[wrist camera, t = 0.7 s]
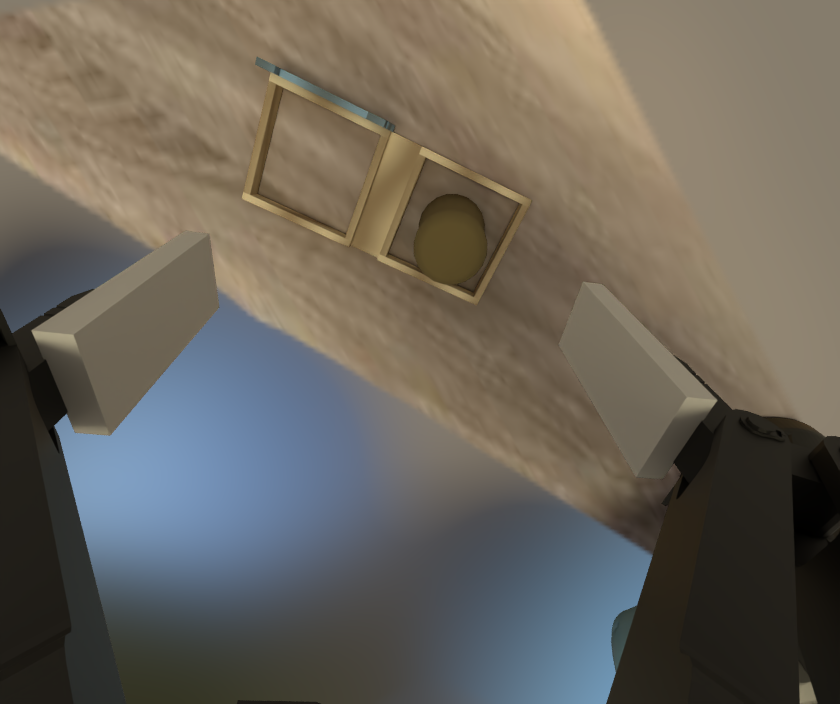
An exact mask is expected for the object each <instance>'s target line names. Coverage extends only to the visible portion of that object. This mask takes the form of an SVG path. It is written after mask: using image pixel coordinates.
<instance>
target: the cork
mask: <svg viewBox="0 0 840 704" xmlns="http://www.w3.org/2000/svg"><path fill="white" fill-rule="evenodd" d="M484 227H485V223H484V219H483V216H482V213H481V211H480V210H479V208H478V207H477V205H476V204H475V203H474V202H472V201H471V200H470V199H469V198H467V197H464V196H461V195H458V194H446V195H443V196H441V197H438V198H436V199H435V200H433V201H432V202H431V203H429V204H428V205H427V207H426V208H425V210H424V211H423V213H422V215H421V219H420V222H419V229H418V231H417V233H416V237H415V240H414V256H415V259H416V262H417V265H418V266H419V268H420V269H421V271H422V272H423V273H424V274H425V275H426V276H427V277H429V278H430V279H431V280H433V281H435V282H438V283H441V284H444V285H455V284H459V283H462V282H465V281H467V280H468V279H470V278H471V277H473V276H474V275H475V274H476V273H477V272H478V271H479V269H480V268H481V267H482V265H483V263H484V260H485V258H486V255H487V240H486V236H485V233H484Z"/></svg>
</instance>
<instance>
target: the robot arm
mask: <svg viewBox="0 0 840 704" xmlns="http://www.w3.org/2000/svg"><path fill="white" fill-rule="evenodd" d="M218 308H219V302H218V294H217V286H216V279H215V272H214V264H213V257H212V249H211V242H210V235H209V234H208V233H200V232H192V231H184V232H182V233H181V234H179V235H178V236H176V237H175V238H173V239H172V240H170V241H169V242H167V243H166V244H164V245H162V246H161V247H159V248H158V249H156V250H155V251H153V252H152V253H150V254H149V255H147V256H145V257H144V258H142V259H141V260H139V261H138V262H136V263H135V264H133V265H132V266H130V267H129V268H127V269H125V270H124V271H123V272H121V273H119V274H118V275H116V276H115V277H113V278H112V279H110V280H108V281H107V282H106V283H104V284H102V285H101V286H99V287H98V288H96V289H91V290H89V291H86V292H83V293H80V294H77V295H74V296H71V297H70V298H68V299H66V300H65V301H63V302H62V303H60V304H59V305H57V307H56V308H52V309H50V310H49V311H47V312H46V313H44V316H39V317H38V318H36V319H35V320H33V321H31V322H30V323H28V324H26V325H25V326H23V327H22V328H20V329H18V330H17V331H15V332H14V333H11V331H10V328H9V326H8V324H7V322H6V320H5V317H4V315H3V313H2V311H1V309H0V704H126V700H125V696H124V693H123V688H122V685H121V680H120V676H119V672H118V668H117V665H116V660H115V656H114V652H113V649H112V645H111V641H110V637H109V633H108V629H107V625H106V621H105V617H104V613H103V609H102V605H101V601H100V597H99V593H98V589H97V585H96V581H95V577H94V573H93V569H92V565H91V561H90V557H89V553H88V549H87V545H86V541H85V538H84V533H83V529H82V526H81V521H80V517H79V514H78V510H77V506H76V502H75V498H74V494H73V490H72V486H71V482H70V478H69V474H68V470H67V466H66V462H65V458H64V454H63V451H62V446H61V442H60V438H59V435H58V433H57V431H56V429H55V427H54V425H55V424H56V423H57V422H58V421H59V420H60V419H61V418H62V417H63V416H65V415H66V414H67V415H68V418H69V420H70V422H71V424H72V427H73V429H74V432H75V433H84V434H97V435H111V434H112V433H113V432H114V430H115V429H116V428H117V427H118V426H119V424H120V423H121V422H122V421H123V420H124V419H125V417H126V416H127V415H128V414H129V413H130V412H131V410H132V409H133V408H134V407H135V406H136V405H137V403H138V402H139V401H140V400H141V399H142V397H143V396H144V395H145V394H146V393H147V392H148V390H149V389H150V388H151V387H152V386H153V385H154V383H155V382H156V381H157V380H158V379H159V378H160V376H161V375H162V374H163V373H164V372H165V370H166V369H167V368H168V367H169V366H170V364H171V363H172V362H173V361H174V360H175V359H176V358H177V356H178V355H179V354H180V353H181V352H182V351H183V349H184V348H185V347H186V346H187V345H188V343H189V342H190V341H191V340H192V339H193V338H194V336H195V335H196V334H197V333H198V332H199V330H200V329H201V328H202V327H203V326H204V324H206V322H207V321H208V320H209V319H210V318H211V316H212V315H213V314H214V313H215V312H216V311H217V309H218ZM559 347H560V349H561V350H562V352H563V354H564V355H565V357H566V359H567V361H568V362H569V364H570V366H571V367H572V369H573V371H574V372H575V374H576V376H577V378H578V379H579V381H580V383H581V384H582V386H583V388H584V390H585V391H586V393H587V395H588V396H589V398H590V400H591V402H592V403H593V405H594V407H595V408H596V410H597V412H598V413H599V415H600V417H601V419H602V420H603V422H604V424H605V425H606V427H607V429H608V431H609V432H610V434H611V436H612V437H613V439H614V441H615V443H616V444H617V446H618V448H619V449H620V451H621V453H622V454H623V456H624V458H625V460H626V461H627V463H628V465H629V466H630V468H631V470H632V472H633V473H634V475H635V477H638V478H650V479H663V478H664V477H665V475H666V474H667V473H668V471H669V470H670V468H671V467H672V465H673V464H674V463H675V465H676V466H677V468H678V469H679V470H680V472H681V473H682V474H681V477H680V479H679V480H678V481H677V483H676V484H675V486H674V487H673V488H672V490H671V491H670V492H669V494H668V495H667V497H666V498H665V499H664V501H663V502H662V504H663V505H665V506H666V505H667V504H668V503H669V506H668V509H667V512H666V515H665V518H664V522H663V525H662V528H661V531H660V534H659V538H658V541H657V544H656V547H655V550H654V553H653V557H652V560H651V563H650V566H649V569H648V573H647V576H646V579H645V582H644V585H643V589H642V592H641V595H640V598H639V601H638V605H637V606H635V607H633V608H630V609H628V610H625V611H623V612H621V613H620V614H619V615H618V616H617V617H616V619H615V620H614V623H613V627H612V638H611V643H612V653H613V660H614V665H615V670H616V675H615V678H614V681H613V684H612V687H611V691H610V694H609V697H608V700H607V703H606V704H840V437H836V436H827V437H824V436H823V435H822V434H821V433H819V432H818V431H816V430H815V429H814V428H812V427H811V426H809V425H807V424H805V423H802V422H799V421H796V420H792V419H786V418H763V417H761V416H759V415H757V414H754V413H751V412H748V411H744V410H738V409H735V410H732V409H731V408H730V407H729V406H728V405H727V404H726V403H725V402H724V401H723V400H722V399H721V398H720V397H719V396H718V395H717V394H716V393H715V392H714V391H713V390H712V389H711V388H710V387H709V386H708V385H707V384H704V383H705V382H704V381H703V380H702V379H701V378H700V377H699V376H698V375H696V373H695V372H694V371H693V370H692V369H691V368H690V367H689V366H688V365H687V364H686V363H685V362H683V361H682V360H680V359H679V358H677V357H676V356H674V355H672V354H671V353H670V352H669V351H668V350H667V349H666V348H665V347H664V346H663V345H662V344H661V343H660V342H659V341H658V340H657V339H656V338H655V337H654V336H653V335H652V334H651V333H650V332H649V331H648V330H647V329H646V328H645V327H644V325H643V324H642V323H641V322H640V321H639V320H638V319H637V318H636V317H635V316H634V315H633V314H632V313H631V312H630V311H629V310H628V309H627V308H626V307H625V306H624V305H623V304H622V303H621V302H620V301H619V300H618V299H617V298H616V297H615V296H614V295H613V294H612V293H611V292H610V291H609V290H608V289H607V288H606V287H605V286H604V285H603V284H598V283H590V282H582V285H581V288H580V290H579V293H578V295H577V298H576V301H575V303H574V306H573V308H572V311H571V314H570V316H569V319H568V321H567V324H566V327H565V329H564V332H563V334H562V337H561V340H560V342H559ZM237 704H320V703H317V702H291V701H289V702H288V701H240V700H238V702H237Z"/></svg>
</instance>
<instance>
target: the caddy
mask: <svg viewBox="0 0 840 704" xmlns="http://www.w3.org/2000/svg"><path fill="white" fill-rule="evenodd" d="M255 65H257V66H259V67H261V68H263V69H265V70H268V71H270V72H271V74H270V78H269V83H268V87H267V91H266V96H265V100H264V104H263V109H262V113H261V118H260V122H259V126H258V131H257V135H256V139H255V144H254V148H253V152H252V157H251V161H250V165H249V170H248V174H247V179H246V183H245V187H244V192H243V196H242V199H244V200H246V201H248V202H251V203H253V204H255V205H257V206H259V207H262V208H264V209H266V210H268V211H270V212H273V213H275V214H277V215H279V216H281V217H284V218H286V219H288V220H290V221H292V222H295V223H297V224H299V225H301V226H303V227H306V228H308V229H310V230H312V231H314V232H317V233H319V234H321V235H323V236H325V237H328V238H330V239H332V240H334V241H336V242H339V243H341V244H343V245H345V246H347V247H350V246H354V247H356V248H358V249H360V250H362V251H364V252H367V253H369V254H371V255H373V256H375V257H378V259H377V260H378V261H380V262H383V263H385V264H387V265H389V266H391V267H394V268H396V269H398V270H400V271H402V272H405V273H407V274H409V275H411V276H413V277H415V278H418V279H420V280H422V281H424V282H426V283H429V284H431V285H433V286H435V287H437V288H440V289H442V290H444V291H446V292H448V293H451V294H453V295H455V296H457V297H459V298H462V299H464V300H466V301H468V302H470V303H473V304H475V305H477V304H478V302H479V300H480V298H481V296H482V294H483V293H484V291H485V289H486V287H487V285H488V283H489V281H490V279H491V277H492V276H493V274H494V272H495V270H496V268H497V266H498V264H499V262H500V260H501V259H502V257H503V255H504V253H505V251H506V249H507V247H508V245H509V244H510V242H511V240H512V238H513V236H514V234H515V232H516V230H517V228H518V227H519V225H520V223H521V221H522V219H523V217H524V215H525V213H526V211H527V210H528V208H529V206H530V204H531V202H532V200H530V199H528V198H526V197H524V196H522V195H520V194H518V193H516V192H514V191H512V190H510V189H507V188H505V187H503V186H501V185H499V184H497V183H495V182H493V181H491V180H489V179H487V178H485V177H483V176H481V175H479V174H477V173H475V172H473V171H471V170H469V169H467V168H465V167H463V166H461V165H459V164H457V163H455V162H453V161H451V160H448V159H446V158H444V157H442V156H440V155H438V154H436V153H434V152H432V151H430V150H428V149H426V148H424V147H422V146H420V145H418V144H416V143H414V142H412V141H410V140H408V139H406V138H404V137H402V136H400V135H398V134H396V133H394V132H393V131H394V128H395V126H394V125H393V124H391V123H390V122H388V121H386V120H384V119H382V118H380V117H378V116H376V115H374V114H372V113H370V112H367V111H365V110H363V109H361V108H359V107H357V106H355V105H353V104H351V103H349V102H347V101H345V100H343V99H341V98H339V97H337V96H335V95H333V94H331V93H329V92H327V91H325V90H323V89H321V88H319V87H317V86H315V85H313V84H311V83H309V82H307V81H305V80H303V79H301V78H299V77H297V76H295V75H293V74H290V73H288V72H286V71H284V70H282V69H280V68H279V67H277V66H275V65H273V64H271V63H269V62H267V61H265V60H263V59H261V58H259V57H257V58H256V63H255ZM283 88H285V89H287V90H289V91H291V92H293V93H296V94H298V95H300V96H302V97H304V98H306V99H308V100H310V101H312V102H314V103H316V104H318V105H320V106H322V107H324V108H326V109H328V110H330V111H332V112H334V113H336V114H338V115H340V116H343V117H345V118H347V119H349V120H351V121H353V122H355V123H357V124H359V125H361V126H363V127H365V128H367V129H369V130H371V131H373V132H375V133H377V134H379V135H381V137H380V139H379V142H378V145H377V148H376V151H375V154H374V156H373V159H372V162H371V165H370V168H369V171H368V174H367V176H366V179H365V182H364V185H363V188H362V191H361V194H360V196H359V199H358V202H357V205H356V208H355V211H354V214H353V216H352V219H351V222H350V225H349V228H348V231H347V234H344V233H342V232H340V231H338V230H335V229H333V228H331V227H329V226H327V225H324V224H322V223H320V222H318V221H316V220H314V219H311V218H309V217H307V216H305V215H303V214H300V213H298V212H296V211H294V210H292V209H289V208H287V207H285V206H283V205H281V204H279V203H276V202H274V201H272V200H270V199H268V198H265V197H263V196H261V195H259V194H257V193H258V189H259V185H260V181H261V177H262V173H263V169H264V165H265V161H266V156H267V152H268V148H269V144H270V140H271V136H272V132H273V128H274V124H275V120H276V116H277V111H278V107H279V103H280V99H281V95H282V91H283ZM426 158H428V159H430V160H432V161H435V162H437V163H439V164H441V165H443V166H445V167H447V168H449V169H451V170H453V171H455V172H457V173H459V174H461V175H463V176H465V177H467V178H469V179H471V180H473V181H475V182H477V183H479V184H482V185H484V186H486V187H488V188H490V189H492V190H494V191H496V192H498V193H500V194H502V195H504V196H506V197H508V198H510V199H512V200H514V201H516V202H518V203H520V204H519V205H518V207H517V209H516V211H515V213H514V215H513V217H512V219H511V221H510V223H509V225H508V227H507V229H506V231H505V232H504V234H503V236H502V238H501V240H500V242H499V244H498V246H497V248H496V250H495V252H494V254H493V256H492V258H491V259H490V261H489V263H488V265H487V267H486V269H485V271H484V273H483V275H482V277H481V279H480V281H479V283H478V284H477V286H476V288H475V290H474V292H471V291H469V290H466V289H464V288H462V287H460V286H458V285H456V284H455V285H444V284H441V283H438V282H435V281H433V280H431V279H430V278H429V277H427V276H426V275H425V274H424V273H423V272H422V271H421V269H420V268H418V267H416V266H414V265H412V264H410V263H407V262H405V261H403V260H401V259H399V258H397V257H394V256H392V255H390V254H388V252H389V250H390V247H391V245H392V242H393V240H394V237H395V235H396V233H397V230H398V228H399V225H400V223H401V220H402V218H403V215H404V213H405V210H406V208H407V205H408V203H409V200H410V198H411V195H412V193H413V190H414V188H415V185H416V183H417V180H418V178H419V175H420V173H421V171H422V168H423V166H424V163H425V161H426Z"/></svg>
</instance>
